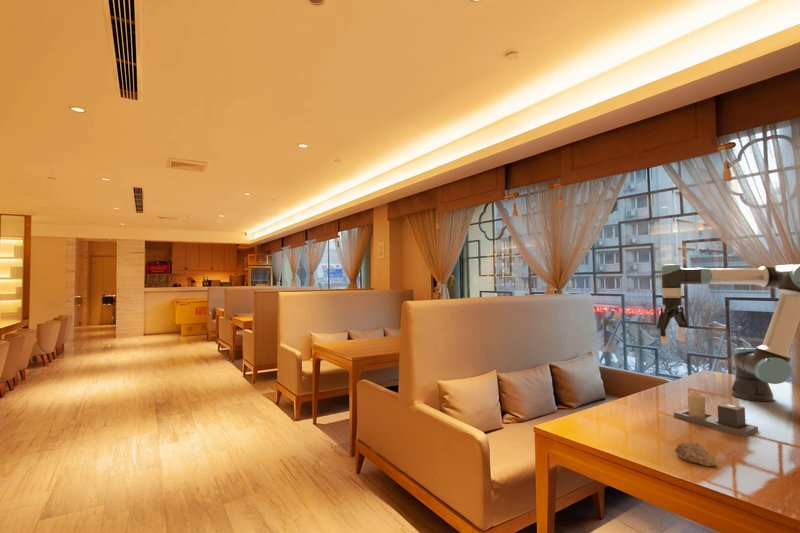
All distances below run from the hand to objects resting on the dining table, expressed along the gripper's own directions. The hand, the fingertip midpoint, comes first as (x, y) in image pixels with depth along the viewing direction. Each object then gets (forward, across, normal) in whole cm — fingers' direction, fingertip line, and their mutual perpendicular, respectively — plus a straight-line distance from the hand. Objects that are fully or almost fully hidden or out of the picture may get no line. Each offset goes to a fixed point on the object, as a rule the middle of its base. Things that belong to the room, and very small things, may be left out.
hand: (673, 342), depth 190 cm
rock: (+27, +59, +39) cm, 76 cm away
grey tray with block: (+27, +19, +25) cm, 41 cm away
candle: (+26, +19, +19) cm, 37 cm away
